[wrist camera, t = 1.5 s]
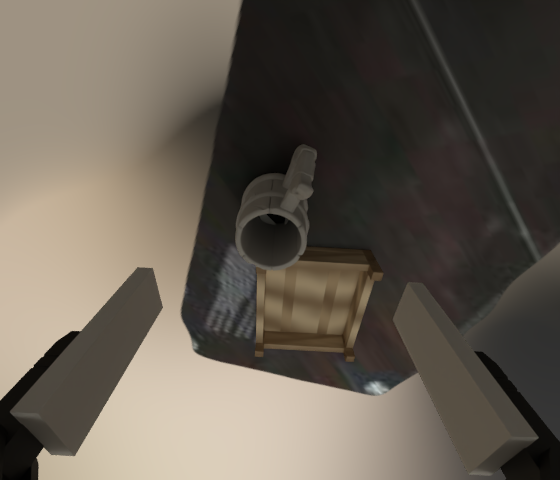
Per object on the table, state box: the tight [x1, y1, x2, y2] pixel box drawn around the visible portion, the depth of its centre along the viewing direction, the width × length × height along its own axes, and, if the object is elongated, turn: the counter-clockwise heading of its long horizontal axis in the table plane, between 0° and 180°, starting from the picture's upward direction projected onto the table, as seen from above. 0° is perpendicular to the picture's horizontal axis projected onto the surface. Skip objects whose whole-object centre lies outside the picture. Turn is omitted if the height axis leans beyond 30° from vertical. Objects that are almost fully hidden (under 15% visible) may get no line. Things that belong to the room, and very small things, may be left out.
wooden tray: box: [255, 246, 383, 362], centre depth 35 cm, size 17×15×5 cm
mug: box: [235, 144, 317, 271], centre depth 24 cm, size 8×12×12 cm, turn 154°
